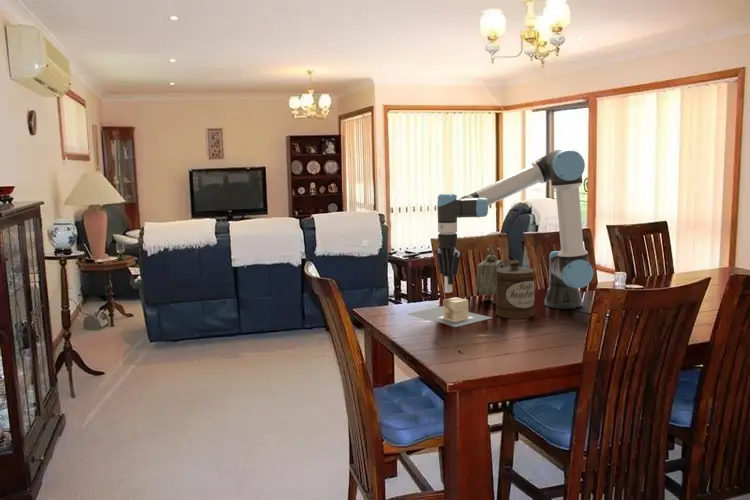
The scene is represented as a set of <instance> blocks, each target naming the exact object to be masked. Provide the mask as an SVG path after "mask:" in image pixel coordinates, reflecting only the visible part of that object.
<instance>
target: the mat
mask: <svg viewBox="0 0 750 500" xmlns="http://www.w3.org/2000/svg"><path fill="white" fill-rule="evenodd" d="M407 315H409V316H412V317H418V318H421V319H424V320H429V321H433V322H437V323H441V324H444V325H446V326H450V327H453V328H459V327H464V326H468V325H471V324H475V323H479V322H480V323H481V322H482V321H488V320H492V319H493V317H491V316H487V315H483V314H479V313H474V312H470V311H469V317H468V318H464V319H459V320H452V319H448V318H444V317H443V305H442V306H438V307H433V308H432V307H431V308H428V309H422V310H418V311H412V312H409V313H407Z"/></svg>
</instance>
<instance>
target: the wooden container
mask: <svg viewBox="0 0 750 500" xmlns="http://www.w3.org/2000/svg"><path fill="white" fill-rule="evenodd" d="M534 276H535V271H534V269H533V268H529V267H525V266H524V267H523V266H520V261H519V260H517V259H512V261H510V266H507V267H506V266H505V267H504V268H499V269H497V271H496V295H495V301H496V303H495V314H496V316H498V317H500V318H504V319H511V320H512V319H513V320H522V319H528V318H532V317H534V315H535V279H534V278H535V277H534Z"/></svg>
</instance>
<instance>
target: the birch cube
mask: <svg viewBox="0 0 750 500" xmlns="http://www.w3.org/2000/svg"><path fill="white" fill-rule="evenodd" d="M442 306H443V317H444V318H448V319H452V320H459V319H464V318H468V317H469V312H470V310H469V299H466V298H461V297H457V296H455V297H451V298H450V297H449V298H446V299H442Z"/></svg>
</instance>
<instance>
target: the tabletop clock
mask: <svg viewBox="0 0 750 500" xmlns="http://www.w3.org/2000/svg"><path fill="white" fill-rule="evenodd" d="M491 248H492V250H491ZM494 251H495V246H494V244H492V243H491V244H489V247H488V253H489V254H488V255H487V256H486V257H485V260H483V261H481V262H480V263H477V266H476V290H477V291H476V292H478V293H479V294H482V295H486V296H485V297H484V300H485V301H489V295H490V297H491V299H492V300H491V303H492V304H496V299H494V295H495V296H496V271H497V269H499V268H504V267H506V262H505V260H498V258H497V256H496V254H495V255H494Z"/></svg>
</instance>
